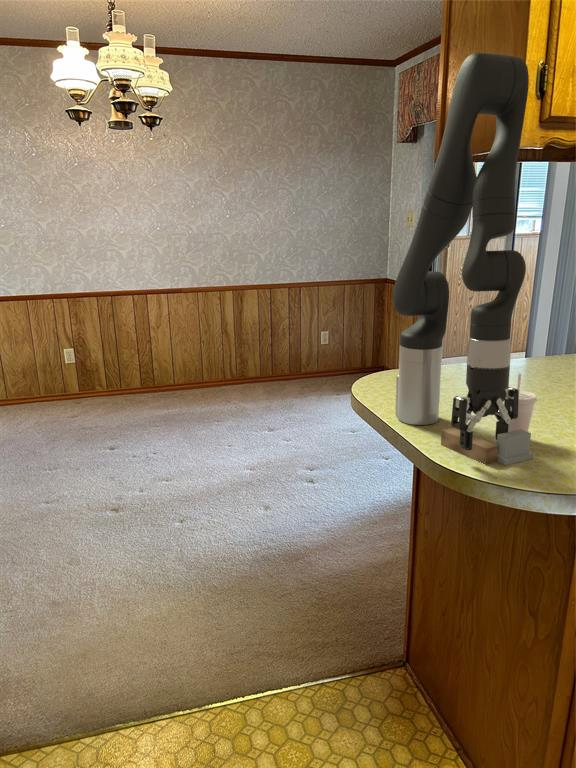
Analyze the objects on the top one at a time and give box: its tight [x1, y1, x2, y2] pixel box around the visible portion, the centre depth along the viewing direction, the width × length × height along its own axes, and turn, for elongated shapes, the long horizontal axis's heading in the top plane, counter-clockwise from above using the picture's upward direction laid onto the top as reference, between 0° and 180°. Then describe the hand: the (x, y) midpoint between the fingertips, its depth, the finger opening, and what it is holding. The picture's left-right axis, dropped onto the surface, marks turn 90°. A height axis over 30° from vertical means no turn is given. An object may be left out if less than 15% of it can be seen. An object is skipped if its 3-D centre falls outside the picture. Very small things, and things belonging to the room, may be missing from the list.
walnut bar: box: [440, 426, 498, 466], centre depth 118 cm, size 12×3×4 cm, turn 29°
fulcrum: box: [496, 429, 534, 466], centre depth 115 cm, size 4×7×5 cm, turn 115°
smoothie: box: [508, 372, 538, 432], centre depth 123 cm, size 6×6×14 cm
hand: (483, 445), depth 115 cm, fingers open, 8 cm apart
